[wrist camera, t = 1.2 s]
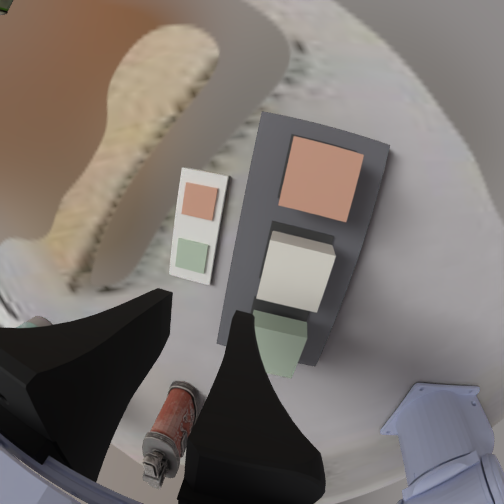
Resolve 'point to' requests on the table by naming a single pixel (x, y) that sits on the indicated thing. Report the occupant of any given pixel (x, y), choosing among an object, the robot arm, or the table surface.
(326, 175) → the key terracotta
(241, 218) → the dark grey base plate
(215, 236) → the card
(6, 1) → the medication box
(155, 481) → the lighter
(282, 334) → the key sage
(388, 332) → the table surface
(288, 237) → the key ivory
